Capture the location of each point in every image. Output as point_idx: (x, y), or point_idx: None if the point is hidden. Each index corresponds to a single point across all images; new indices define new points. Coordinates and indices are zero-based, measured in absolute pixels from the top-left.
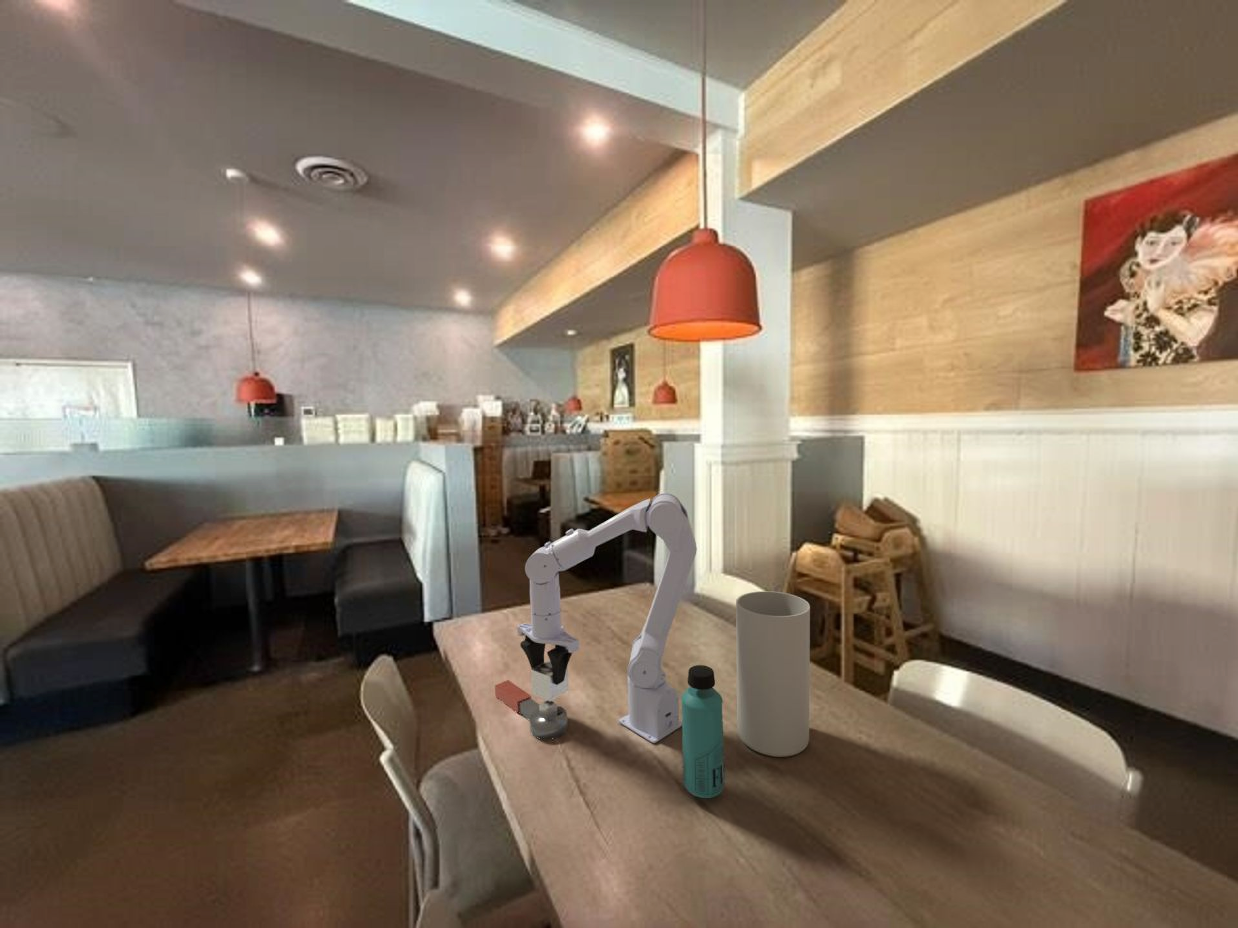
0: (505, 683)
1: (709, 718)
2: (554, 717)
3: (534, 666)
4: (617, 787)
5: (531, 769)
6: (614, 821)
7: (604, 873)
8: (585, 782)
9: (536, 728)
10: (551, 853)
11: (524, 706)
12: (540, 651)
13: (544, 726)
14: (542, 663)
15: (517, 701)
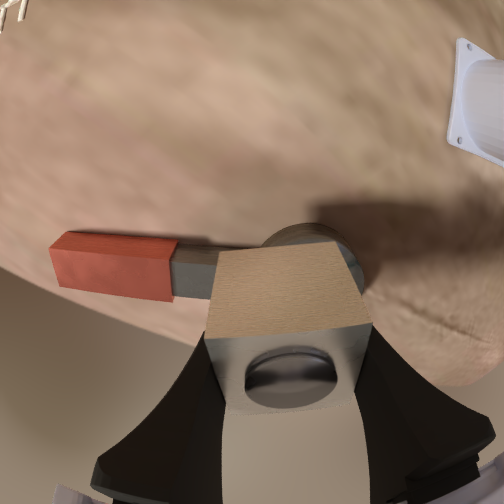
0: (61, 263)
1: None
2: None
3: (223, 404)
4: (490, 290)
5: None
6: (493, 324)
7: (489, 357)
8: (452, 314)
9: None
10: (445, 379)
11: (203, 297)
12: (204, 437)
13: None
14: (225, 378)
15: (170, 301)
